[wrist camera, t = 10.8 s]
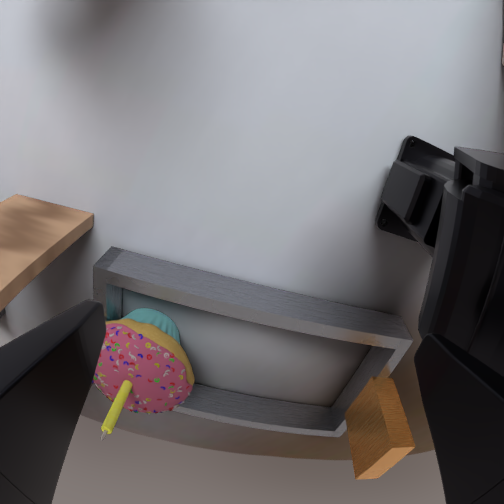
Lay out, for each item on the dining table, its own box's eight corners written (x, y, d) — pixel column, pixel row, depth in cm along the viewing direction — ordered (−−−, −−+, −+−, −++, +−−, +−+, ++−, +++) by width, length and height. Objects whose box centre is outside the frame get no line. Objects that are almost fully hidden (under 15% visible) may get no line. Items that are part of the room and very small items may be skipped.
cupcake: (109, 274, 23) (26, 387, 12) (214, 306, 24) (181, 448, 13) (107, 349, 26) (54, 453, 16) (193, 377, 27) (166, 494, 16)
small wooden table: (100, 214, 21) (-56, 362, 7) (103, 373, 28) (46, 501, 14) (11, 191, 20) (-132, 286, 6) (32, 344, 27) (-37, 448, 13)
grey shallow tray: (405, 317, 23) (451, 411, 14) (340, 413, 29) (352, 496, 20) (111, 246, 21) (38, 330, 13) (112, 366, 27) (75, 446, 18)
